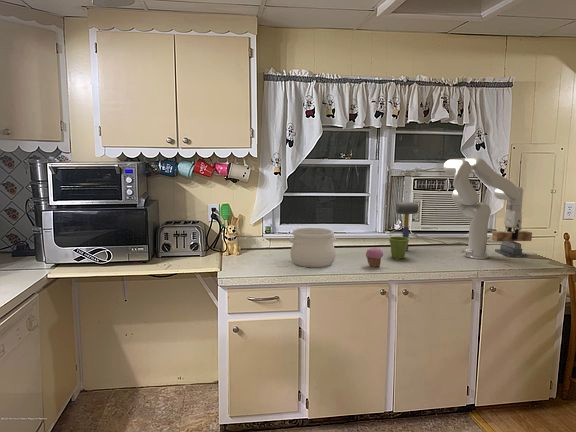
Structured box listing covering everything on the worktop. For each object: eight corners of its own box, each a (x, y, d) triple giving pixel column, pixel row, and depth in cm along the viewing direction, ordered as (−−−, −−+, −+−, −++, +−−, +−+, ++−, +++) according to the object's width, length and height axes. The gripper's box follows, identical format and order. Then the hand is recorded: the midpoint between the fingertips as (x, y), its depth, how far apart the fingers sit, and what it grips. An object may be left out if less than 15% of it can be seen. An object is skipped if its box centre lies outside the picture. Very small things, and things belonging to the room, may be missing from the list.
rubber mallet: (412, 248, 264) (415, 201, 260) (417, 251, 257) (419, 202, 252) (393, 249, 263) (395, 201, 259) (397, 251, 256) (399, 202, 251)
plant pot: (411, 260, 236) (412, 240, 234) (390, 260, 236) (391, 240, 234) (405, 255, 248) (406, 236, 246) (385, 255, 248) (386, 236, 246)
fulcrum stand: (509, 257, 244) (510, 244, 242) (494, 251, 257) (495, 239, 256) (527, 256, 245) (528, 244, 244) (511, 251, 259) (512, 239, 258)
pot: (296, 270, 214) (296, 236, 211) (283, 259, 237) (284, 228, 235) (343, 267, 221) (344, 234, 218) (327, 256, 244) (327, 226, 241)
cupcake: (385, 266, 223) (386, 247, 221) (376, 269, 217) (377, 250, 215) (371, 263, 229) (372, 245, 227) (362, 266, 223) (362, 247, 221)
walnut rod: (496, 241, 246) (497, 233, 246) (492, 239, 251) (492, 231, 250) (531, 240, 249) (532, 232, 248) (526, 239, 253) (526, 231, 253)
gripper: (499, 206, 255) (497, 235, 258) (517, 209, 238) (515, 241, 241) (511, 206, 256) (508, 235, 258) (530, 209, 239) (527, 241, 242)
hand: (511, 238), depth 250 cm, fingers closed on walnut rod, 4 cm apart
